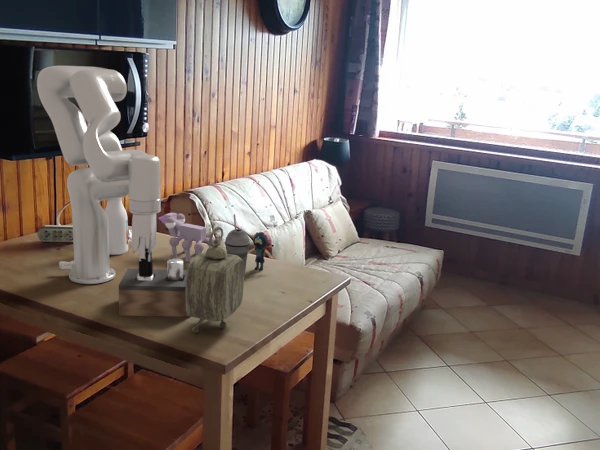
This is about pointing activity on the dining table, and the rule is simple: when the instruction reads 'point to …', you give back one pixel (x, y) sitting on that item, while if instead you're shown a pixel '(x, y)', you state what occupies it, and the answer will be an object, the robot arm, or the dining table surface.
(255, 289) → the dining table surface
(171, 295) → the peg block
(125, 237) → the milk bottle
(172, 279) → the right peg
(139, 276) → the left peg
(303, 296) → the dining table surface
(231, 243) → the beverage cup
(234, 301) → the tabletop clock
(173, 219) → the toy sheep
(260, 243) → the character figure
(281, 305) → the dining table surface
